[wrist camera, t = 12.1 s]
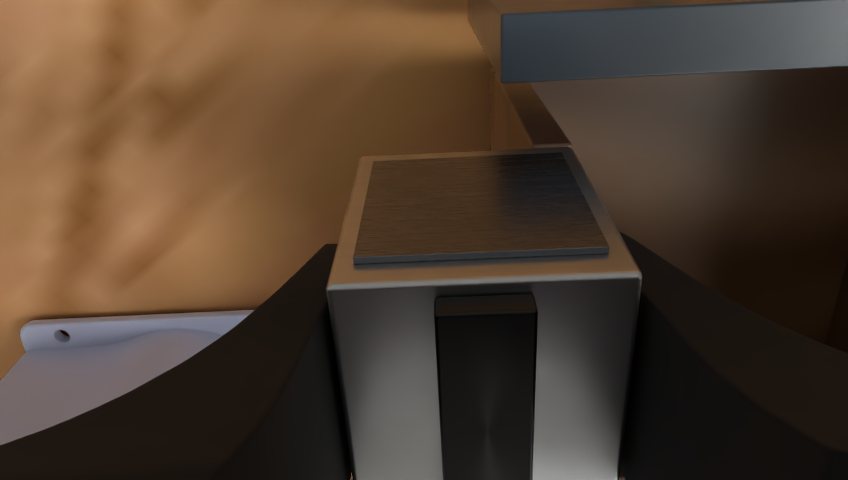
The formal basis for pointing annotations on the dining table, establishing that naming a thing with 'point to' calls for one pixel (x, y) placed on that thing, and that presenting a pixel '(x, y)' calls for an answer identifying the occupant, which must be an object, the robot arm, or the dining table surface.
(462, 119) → the dining table surface
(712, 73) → the drawer
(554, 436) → the striped metal cube
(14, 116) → the dining table surface
